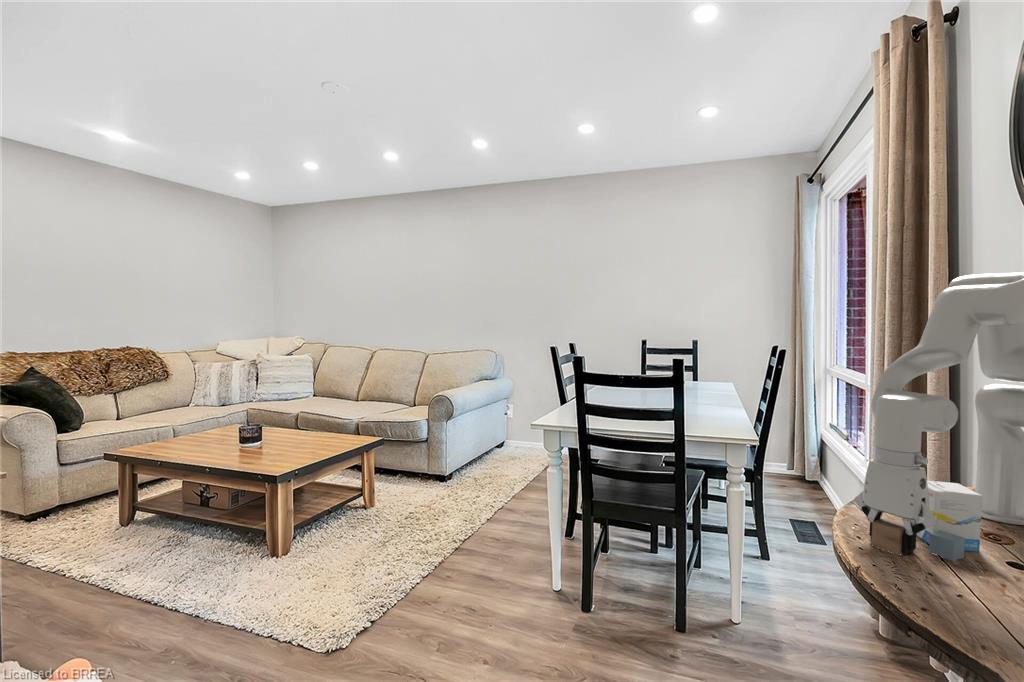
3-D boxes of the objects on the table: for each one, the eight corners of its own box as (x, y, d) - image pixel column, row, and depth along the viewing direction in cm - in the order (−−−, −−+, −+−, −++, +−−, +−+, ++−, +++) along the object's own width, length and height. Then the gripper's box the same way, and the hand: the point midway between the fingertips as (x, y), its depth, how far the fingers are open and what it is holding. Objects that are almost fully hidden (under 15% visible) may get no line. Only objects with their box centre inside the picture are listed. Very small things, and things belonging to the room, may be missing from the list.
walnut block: (884, 541, 108) (886, 517, 108) (912, 551, 104) (913, 526, 104) (871, 545, 106) (872, 521, 106) (898, 555, 102) (899, 530, 101)
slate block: (939, 549, 105) (940, 530, 105) (963, 558, 101) (964, 537, 101) (929, 553, 103) (930, 533, 103) (953, 562, 100) (954, 541, 99)
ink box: (981, 552, 104) (984, 495, 103) (932, 547, 106) (935, 490, 105) (955, 535, 112) (958, 482, 112) (910, 531, 114) (913, 478, 114)
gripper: (957, 466, 98) (951, 561, 99) (862, 446, 113) (858, 528, 114) (936, 470, 95) (931, 568, 96) (841, 449, 110) (837, 534, 111)
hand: (891, 545), depth 105 cm, fingers closed on walnut block, 4 cm apart
